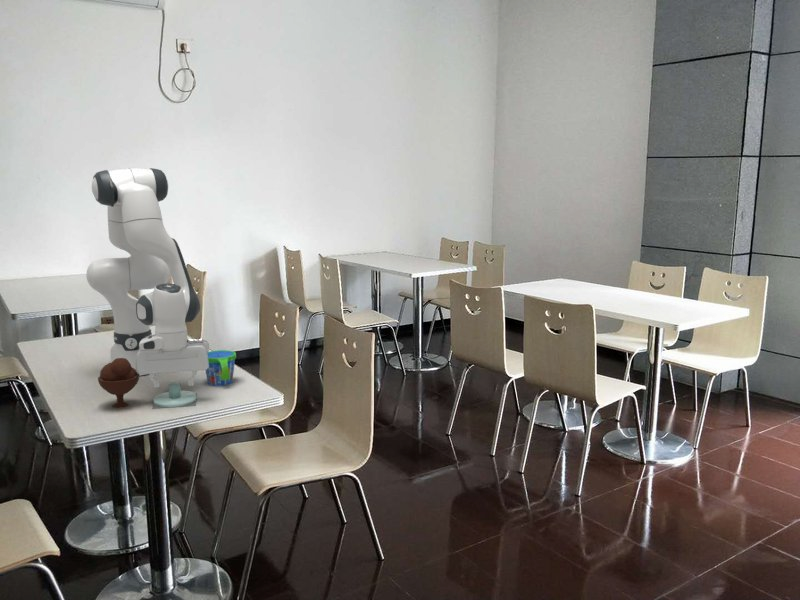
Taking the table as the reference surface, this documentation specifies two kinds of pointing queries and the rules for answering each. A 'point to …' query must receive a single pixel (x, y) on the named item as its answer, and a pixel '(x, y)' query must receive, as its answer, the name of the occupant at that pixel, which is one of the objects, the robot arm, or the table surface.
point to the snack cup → (220, 367)
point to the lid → (174, 397)
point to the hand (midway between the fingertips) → (174, 386)
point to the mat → (174, 407)
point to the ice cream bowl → (118, 379)
